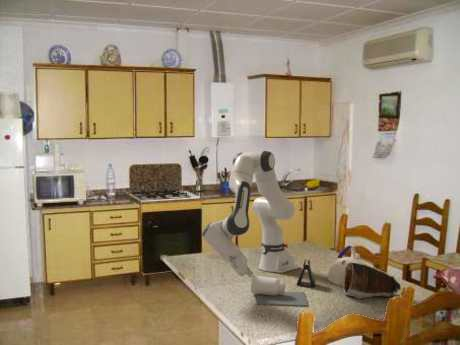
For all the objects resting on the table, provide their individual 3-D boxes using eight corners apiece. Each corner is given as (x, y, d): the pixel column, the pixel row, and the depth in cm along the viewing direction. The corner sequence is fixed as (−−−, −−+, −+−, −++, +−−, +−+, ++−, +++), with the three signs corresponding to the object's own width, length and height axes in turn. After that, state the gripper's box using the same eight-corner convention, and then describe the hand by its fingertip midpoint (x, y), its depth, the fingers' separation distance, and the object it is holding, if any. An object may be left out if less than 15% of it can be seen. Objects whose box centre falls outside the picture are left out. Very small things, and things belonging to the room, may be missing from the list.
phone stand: (315, 283, 230) (316, 260, 229) (314, 287, 224) (315, 263, 223) (297, 281, 232) (298, 258, 231) (296, 285, 226) (297, 261, 225)
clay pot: (409, 276, 207) (354, 264, 207) (402, 310, 206) (347, 297, 206) (397, 270, 221) (346, 259, 222) (391, 302, 221) (340, 290, 221)
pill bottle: (254, 280, 218) (285, 284, 215) (251, 296, 213) (283, 300, 210) (252, 272, 212) (285, 276, 209) (250, 288, 207) (283, 292, 204)
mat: (257, 304, 200) (257, 303, 200) (256, 291, 216) (256, 290, 216) (307, 306, 199) (308, 305, 199) (303, 293, 215) (303, 292, 215)
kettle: (375, 280, 237) (377, 246, 236) (356, 290, 222) (357, 253, 220) (340, 271, 251) (341, 239, 249) (319, 280, 236) (321, 245, 234)
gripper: (234, 255, 196) (257, 278, 197) (236, 243, 217) (256, 264, 217) (224, 265, 197) (246, 288, 197) (226, 252, 217) (246, 273, 218)
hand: (251, 275), depth 208 cm, fingers closed
